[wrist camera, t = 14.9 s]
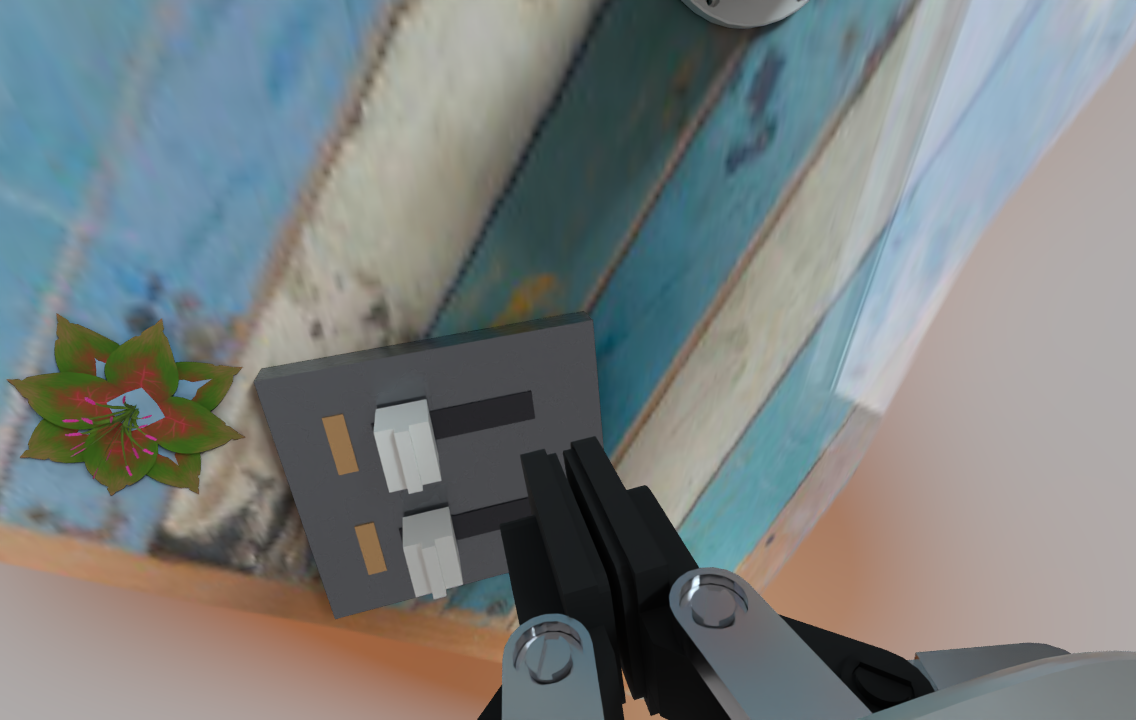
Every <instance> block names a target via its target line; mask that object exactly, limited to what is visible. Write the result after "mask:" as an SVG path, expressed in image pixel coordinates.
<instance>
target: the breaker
mask: <svg viewBox="0 0 1136 720" xmlns="http://www.w3.org/2000/svg"><path fill="white" fill-rule="evenodd" d="M374 436H375V440H376V444H377V448H378V452H379V455H380V459H381V463H382V467H383V471H384V474H385V478H386V482H387V486H388V490H389V493H390V492H395V491H399V490H403V489H408V493H409V494H411V493H416V492H420V491H423V485H425V484H429V483H434V482H438V481H441V473H440V464H439V455H438V451H437V446H436V441H435V437H434V432H433V427H432V423H431V418H430V414H429V409H428V404H427V400H426V399H425V400H420V401H415V402H410V403H405V404H400V405H395V406H390V407H385V408H380V409H376V411H375V422H374Z"/></svg>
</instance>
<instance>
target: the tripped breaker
mask: <svg viewBox="0 0 1136 720" xmlns="http://www.w3.org/2000/svg"><path fill="white" fill-rule="evenodd" d="M403 550H404V554H405V558H406V562H407V565H408V569H409V573H410V577H411V581H412V584H413V588H414V592H415V596H416V597H419V596H423V595H426V594H430V593H432V594H433V598H434V599H438V598H441V597H445V596H447V593H446V589H449V588H452V587H456V586H460V585H463V579H462V572H461V565H460V558H459V552H458V547H457V542H456V538H455V533H454V528H453V524H452V519H451V515H450V510H449V507H445V508H441V509H437V510H433V511H428V512H424V513H420V514H416V515H412V516H408V517H403Z"/></svg>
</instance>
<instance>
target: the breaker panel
mask: <svg viewBox="0 0 1136 720" xmlns="http://www.w3.org/2000/svg"><path fill="white" fill-rule="evenodd" d="M254 384H255V387H256V390H257V393H258V396H259V399H260V402H261V405H262V407H263V410H264V413H265V416H266V419H267V422H268V425H269V428H270V431H271V434H272V437H273V440H274V442H275V445H276V448H277V451H278V454H279V457H280V460H281V463H282V466H283V469H284V472H285V474H286V477H287V480H288V483H289V486H290V489H291V492H292V495H293V498H294V501H295V504H296V507H297V509H298V512H299V515H300V518H301V521H302V524H303V527H304V530H305V533H306V536H307V539H308V542H309V544H310V547H311V550H312V553H313V556H314V559H315V562H316V565H317V568H318V571H319V574H320V576H321V579H322V582H323V585H324V588H325V591H326V594H327V597H328V600H329V603H330V606H331V609H332V611H333V614H334V617H335V619H338V618H341V617H345V616H349V615H353V614H356V613H360V612H364V611H367V610H371V609H375V608H379V607H382V606H386V605H390V604H393V603H397V602H401V601H405V600H408V599H412V598H416V596H415V592H414V588H413V584H412V581H411V577H410V573H409V569H408V565H407V562H406V558H405V554H404V550H403V517H408V516H412V515H416V514H420V513H424V512H428V511H433V510H437V509H441V508H445V507H449V510H450V515H451V519H452V524H453V528H454V533H455V538H456V542H457V547H458V552H459V558H460V565H461V572H462V579H463V585H464V584H468V583H471V582H475V581H479V580H483V579H486V578H490V577H494V576H497V575H501V574H505V573H509V571H508V566H507V561H506V556H505V551H504V546H503V541H502V536H501V532H500V527H499V524H502V523H506V522H510V521H514V520H517V519H521V518H525V517H528V516H532V514H531V509H530V504H529V499H528V494H527V489H526V484H525V479H524V474H523V469H522V464H521V459H520V455H521V454H525V453H529V452H533V451H537V450H541V449H545V450H546V453H547V455H548V454H552V453H556V454H557V456H558V459H559V461H560V464H561V466H562V468H563V471H564V473H565V476H566V470H565V464H564V458H563V451H564V450H568V449H571V442H573V441H577V440H581V439H585V438H589V437H593V436H596V438H597V439H598V441H599V443H600V444H601V446H602V448H603V436H602V424H601V412H600V400H599V388H598V376H597V364H596V352H595V340H594V328H593V320H592V319H591V318H590V317H589V316H588V315H587V314H586V313H585V312H584V311H582V312H576V313H571V314H565V315H560V316H554V317H548V318H543V319H537V320H532V321H526V322H520V323H515V324H509V325H503V326H498V327H492V328H487V329H481V330H475V331H470V332H464V333H459V334H453V335H447V336H442V337H436V338H431V339H425V340H419V341H414V342H408V343H403V344H397V345H391V346H386V347H380V348H375V349H369V350H363V351H358V352H352V353H347V354H341V355H335V356H330V357H324V358H319V359H313V360H307V361H302V362H296V363H290V364H285V365H279V366H274V367H268V368H262V369H261V370H260V372H259V374H258V375H257V377H256V379H255V380H254ZM425 399H426V400H427V404H428V409H429V414H430V418H431V423H432V427H433V432H434V437H435V441H436V446H437V451H438V455H439V464H440V473H441V481H438V482H434V483H429V484H425V485H423V491H420V492H416V493H411V494H409V493H408V489H403V490H399V491H395V492H390V493H389V490H388V486H387V482H386V478H385V474H384V471H383V467H382V463H381V459H380V455H379V452H378V448H377V444H376V440H375V436H374V422H375V411H376V409H380V408H385V407H390V406H395V405H400V404H405V403H410V402H415V401H420V400H425ZM603 450H604V448H603ZM566 478H567V477H566ZM456 587H457V586H456ZM452 588H453V587H452ZM430 594H431V593H430ZM426 595H427V594H426Z"/></svg>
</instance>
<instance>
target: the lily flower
mask: <svg viewBox="0 0 1136 720" xmlns="http://www.w3.org/2000/svg"><path fill="white" fill-rule="evenodd" d="M56 314H57V313H56ZM57 320H58V322H59V323H58V324H57V332H56V333H57V336H58V337H59V339H58V340H56V341H55V359H56V363H57V366H58V368H59V370H60V373H51V374H43V375H37V376H31V377H26V379H23V380H22V381H21V380H18V379H13V380H11V379H7V380H8V381H9V382H10V383H11V384H13V385H14V386H16V389H17V390H18V391H19V392H20V393H21V395H22V396H23V397H25V398H28V400H29V401H28V403H29V404H30V406H31V407H32V408H33V409H34V410H35V411H36V412H37V413H38V414H39V415H40V416H42V417H43V418H44V419H43V420H42V421H41V422H40V423H39V424H38V425H37V427H36V428H35V430H34V432H33V433H32V436H31V438H30V440H29V443H28V445H29V449H30V450H26V451H25V452H24V453H23V454H22V455H21V457H20V458H27V457H31V458H36V459H42V460H44V459H47V458H49V459H51V461H55V462H64V463H76V462H85V465H86V468H87V470H88V471H89V472H90V474H91V475H92V476H93V479H94V478H95V479H96V480H97V481H99V482H100V483H101V484H103V485H105V486H108V488H107V490H108V491H109V493H110V495H111V496H112V495H113V494H114V493H115V492H116V491H119V490H121V489H123V488H125V486H126V485H132V484H133V483H135V482H137V481H139V480H140V479H141V478H142V477H144V476H145V475H146V474H147V475H148V476H150V477H151V478H153V479H155V480H157V481H159V482H161V483H164V484H168V485H172V486H175V487H179V488H184V487H185V488H190V489H189V490H191V491H194V492H196V493H198V494H199V489H198V487H199V478H198V475H200V471H201V457H200V452H204V451H207V450H210V449H213V448H216V447H218V446H221V445H223V444H226V443H227V442H228V441H230V440H231V439H235V440H236V439H240V438H245V437H244V436H242V435H241V434H238V432H236V431H235V430H234V429H232V428H231V427H229V426H226V425H225V422H224V421H222V420H221V419H219V418H218V417H217V416H215V415H214V414H213V413H211V412H210V411H211V410H213V409H214V408H215V407H216V406H217V405H218V404H219V403H220V402H221V400H222V399H223V398H224V396H225V395H226V393H227V391H228V390H229V388H230V386H231V384H232V382H233V375H236V374H237V373H238V372H239V371H240V370H241V368H242V367H234V368H233V367H230V366H222V365H219V366H214V365H213V364H208V363H198V362H176V363H175V361H174V357H173V354H172V351H171V348H170V345H169V342H168V339H167V337H166V336H165V335H164V333H163V332H162V331H163V330H164V328H163V321H162V319H161V320H159V321H158V322H157V323H156V325H154V326H152V327H150V328H148V329H147V330H145V331H143V332H142V334H141V336H135V337H133V338H131V339H130V340H128V341H127V342H125V343H124V344H122V345H121V346H120V345H119V344H117V343H115V342H114V341H112V340H110V339H108V338H106V337H104V336H102V335H100V334H98V333H96V332H94V331H92V330H90V329H88V328H85V327H83V326H81V325H78V324H73V323H69V322H68V320H67V319H65V318H63V317H62V316H60V315H59V314H57ZM95 358H96V359H97V360H98V361H102V362H104V363H106V364H105V376H106V379H107V380H105V379H102V378H100V377H97V376H96V365H95V363H96V361H95ZM207 379H212V380H210V381H209V382H207V383H206V384H205V385H203V386H202V387H200V388H199V389H198V390H197V393H196V396H195V397H194V398H193V399H192V400H188V399H185V398H181V397H172V395H173V394H174V393H175V391H176V390H177V387H178V382H179V380H187V381H190V382H195V381H201V380H207ZM141 387H142V388H143V389H144V390H145V391H146V392H147V393H148V394H149V395H150V397H151V398H152V399H153V400H154V401H155V402H156V403H157V404H158V406H159V407H160V409H161V411H162V412H163V414H164V416H165V418H163V419H161V420H159V421H157V422H155V423H152V424H150V425H148V424H147V425H148V426H147V425H143V426H140V427H139V426H138V425H137V423H136V419H144V418H148V417H151V416H152V415H150V416H147V417H143V418H138V417H137V415H138V414H139V411H138V409H139V408H138V409H136V410H135V408H136V406H132V405H128V404H126V402H125V396H124V397H123V404H124V405H125V406H126V407H124V406H110V405H107V402H109V401H111V400H112V399H114V398H116V397H118V396H120V395H122V394H124V393H126V392H129V391H132V390H135V389H138V388H141ZM110 408H112V409H126V410H123V411H120V412H116V413H112V412H111V410H110ZM133 411H134V412H133ZM124 412H125V413H124ZM119 413H124V414H122V415H119V416H116V417H115V416H114V415H115V414H119ZM132 413H133V414H132ZM131 414H132V415H131ZM130 415H131V416H130ZM131 417H132V418H131ZM130 418H131V420H130V424H129V426H128V422H129V419H130ZM123 420H124V422H123V423H121V422H122V421H123ZM132 423H133V424H134V426H135V427H133V426H132ZM145 426H146V427H145ZM141 427H144V428H141ZM93 428H94V429H93ZM128 428H129V431H128ZM131 428H137V430H134V431H131ZM140 428H141V429H140ZM83 429H92V430H90V431H87V432H84V433H77V432H78V430H83ZM88 433H90V434H89V435H87V434H88ZM158 444H159V445H160V446H162V447H163V448H165V449H167V450H170V451H173V452H176V453H175V457H176V459H177V462H178V465H179V466H178V465H177V464H176V463H174V462H173V461H172V460H170V459H169V458H168V457H164V456H161V455H159V454H158Z"/></svg>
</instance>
